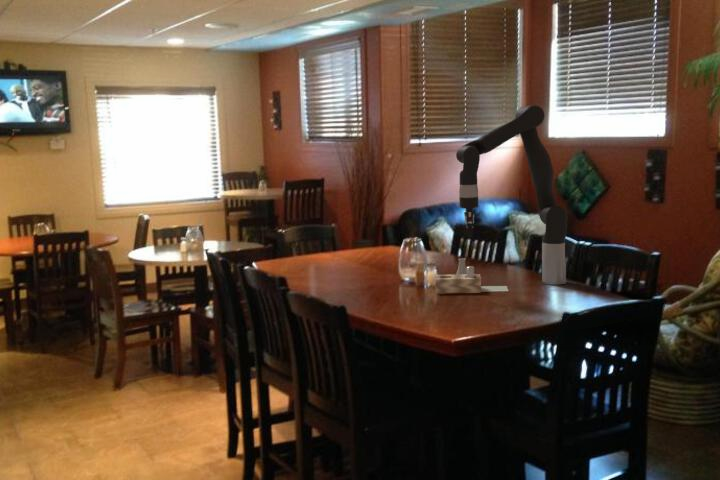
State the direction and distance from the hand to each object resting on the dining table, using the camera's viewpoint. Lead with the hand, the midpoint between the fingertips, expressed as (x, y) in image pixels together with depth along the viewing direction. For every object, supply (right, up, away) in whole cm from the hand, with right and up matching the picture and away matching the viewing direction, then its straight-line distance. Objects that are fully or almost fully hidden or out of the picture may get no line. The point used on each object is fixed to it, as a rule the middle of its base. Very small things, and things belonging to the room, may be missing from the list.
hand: (469, 235), depth 290 cm
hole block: (-4, -23, +4) cm, 23 cm away
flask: (0, -20, +23) cm, 31 cm away
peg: (+1, -23, +3) cm, 23 cm away
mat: (+10, -22, +4) cm, 25 cm away
